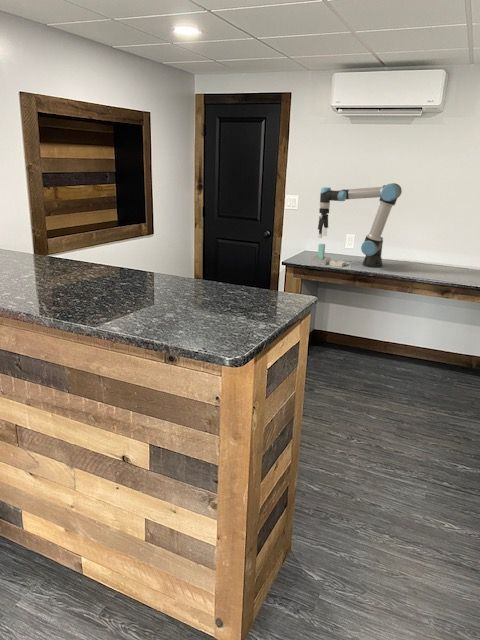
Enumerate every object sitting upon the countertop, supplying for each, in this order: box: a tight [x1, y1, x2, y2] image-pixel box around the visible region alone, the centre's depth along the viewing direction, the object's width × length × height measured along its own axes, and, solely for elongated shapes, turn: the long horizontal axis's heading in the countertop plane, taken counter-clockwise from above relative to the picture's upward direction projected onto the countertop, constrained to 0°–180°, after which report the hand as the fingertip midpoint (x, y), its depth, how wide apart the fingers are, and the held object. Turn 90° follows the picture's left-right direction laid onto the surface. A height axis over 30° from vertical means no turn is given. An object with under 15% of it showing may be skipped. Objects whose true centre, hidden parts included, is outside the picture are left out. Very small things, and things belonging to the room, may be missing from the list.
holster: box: [328, 259, 347, 267], centre depth 396 cm, size 10×10×2 cm
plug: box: [317, 243, 326, 259], centre depth 401 cm, size 4×4×15 cm
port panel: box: [310, 254, 332, 266], centre depth 402 cm, size 12×12×5 cm
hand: (322, 236), depth 396 cm, fingers open, 10 cm apart
